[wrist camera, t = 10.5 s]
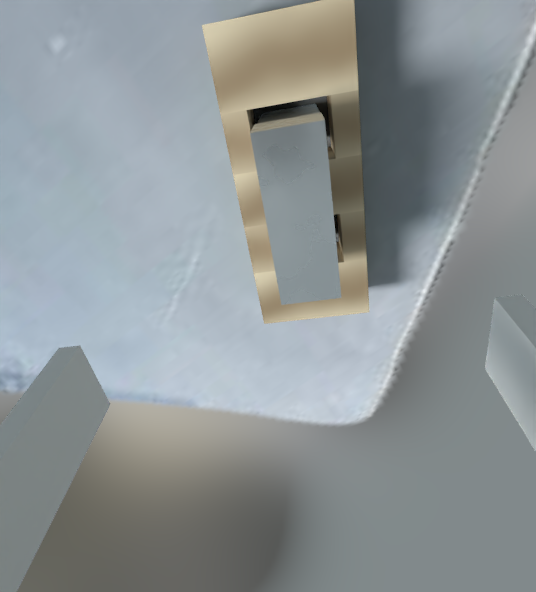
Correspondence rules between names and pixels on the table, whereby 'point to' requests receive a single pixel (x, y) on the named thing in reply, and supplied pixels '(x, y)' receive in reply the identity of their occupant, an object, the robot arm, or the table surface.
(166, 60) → the table surface
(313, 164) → the grey u-shaped block
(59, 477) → the robot arm
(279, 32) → the wooden block with holes
